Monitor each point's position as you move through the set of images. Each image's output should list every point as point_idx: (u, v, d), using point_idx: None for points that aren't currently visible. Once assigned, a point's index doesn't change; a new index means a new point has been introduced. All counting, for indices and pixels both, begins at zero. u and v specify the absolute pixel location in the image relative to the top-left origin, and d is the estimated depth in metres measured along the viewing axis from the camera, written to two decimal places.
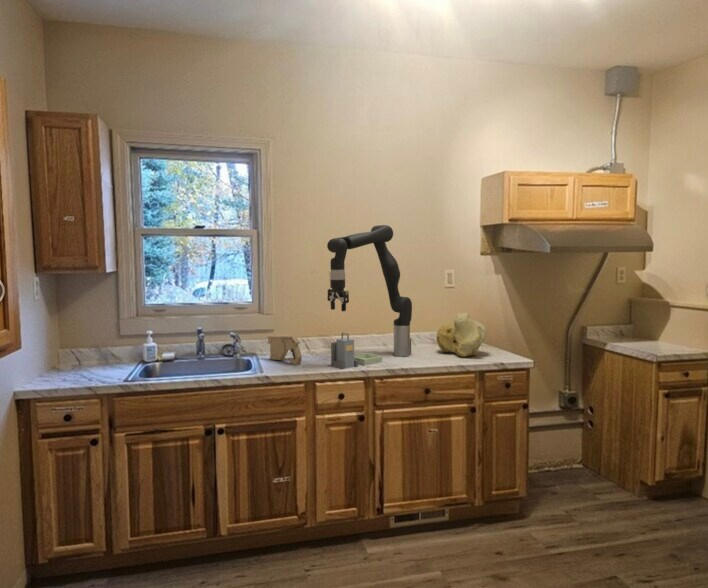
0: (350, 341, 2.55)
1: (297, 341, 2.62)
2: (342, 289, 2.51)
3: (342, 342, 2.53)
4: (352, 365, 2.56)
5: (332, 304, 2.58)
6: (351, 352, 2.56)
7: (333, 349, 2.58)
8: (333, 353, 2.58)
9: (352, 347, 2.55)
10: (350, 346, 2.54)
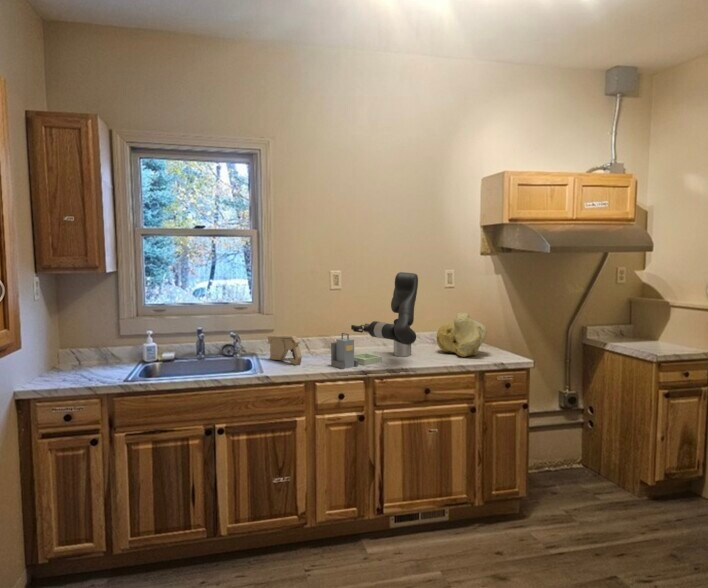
0: (350, 341, 2.55)
1: (297, 341, 2.62)
2: None
3: (342, 342, 2.53)
4: (352, 365, 2.56)
5: None
6: (351, 352, 2.56)
7: (333, 349, 2.58)
8: (333, 353, 2.58)
9: (352, 347, 2.55)
10: (350, 346, 2.54)
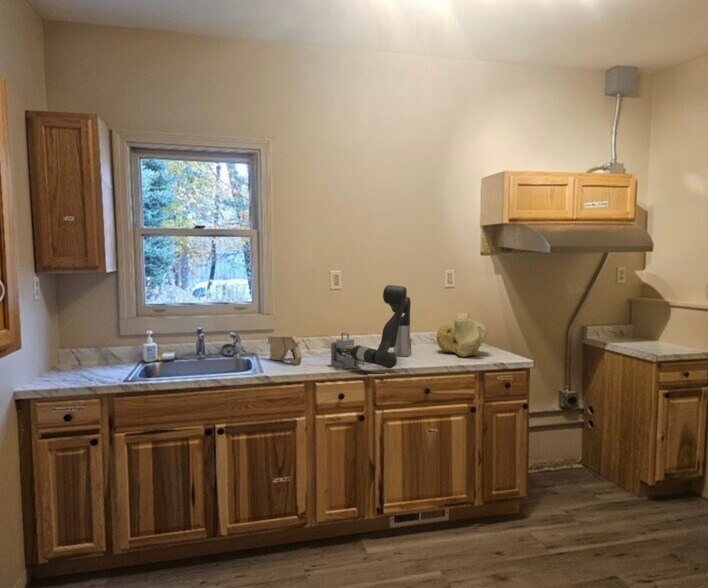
0: (350, 341, 2.55)
1: (297, 341, 2.62)
2: None
3: (342, 342, 2.53)
4: (352, 365, 2.56)
5: None
6: None
7: (333, 349, 2.58)
8: (333, 353, 2.58)
9: (352, 347, 2.55)
10: (350, 346, 2.54)
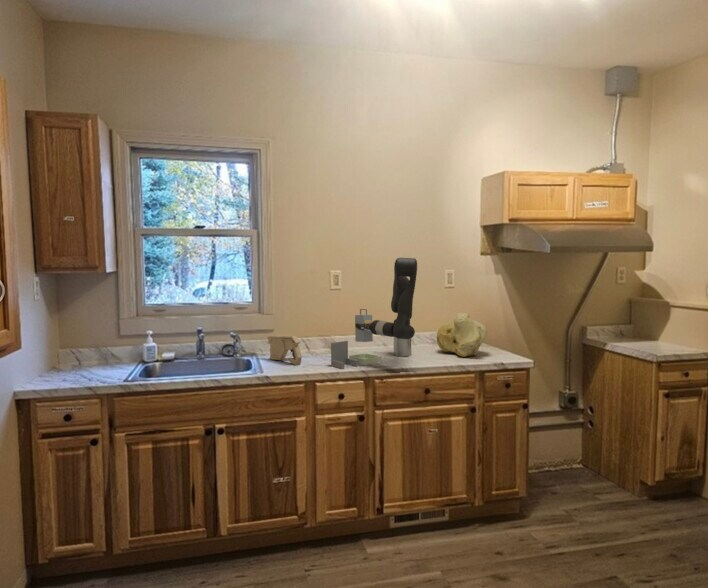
0: (369, 316, 2.65)
1: (297, 341, 2.62)
2: None
3: (361, 317, 2.63)
4: (371, 339, 2.65)
5: None
6: None
7: (333, 349, 2.58)
8: (333, 353, 2.58)
9: (370, 322, 2.65)
10: (368, 321, 2.64)
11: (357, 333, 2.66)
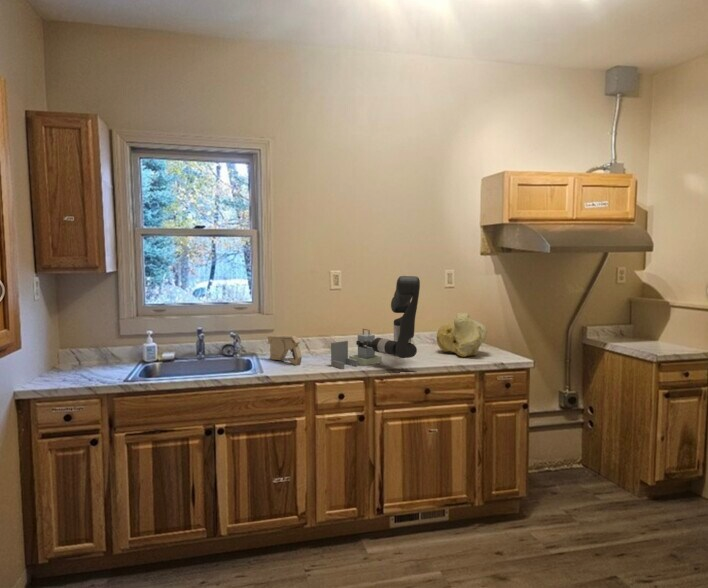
0: (371, 336, 2.65)
1: (297, 341, 2.62)
2: None
3: (364, 338, 2.63)
4: None
5: None
6: None
7: (333, 349, 2.58)
8: (333, 353, 2.58)
9: None
10: None
11: (359, 353, 2.67)
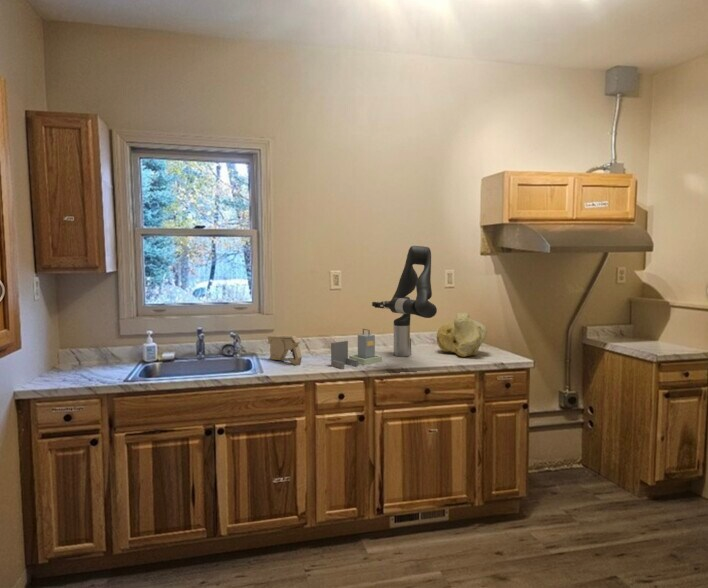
0: (371, 336, 2.65)
1: (297, 341, 2.62)
2: None
3: (364, 338, 2.63)
4: None
5: None
6: (372, 347, 2.65)
7: (333, 349, 2.58)
8: (333, 353, 2.58)
9: (373, 342, 2.65)
10: (371, 341, 2.64)
11: (359, 353, 2.67)
